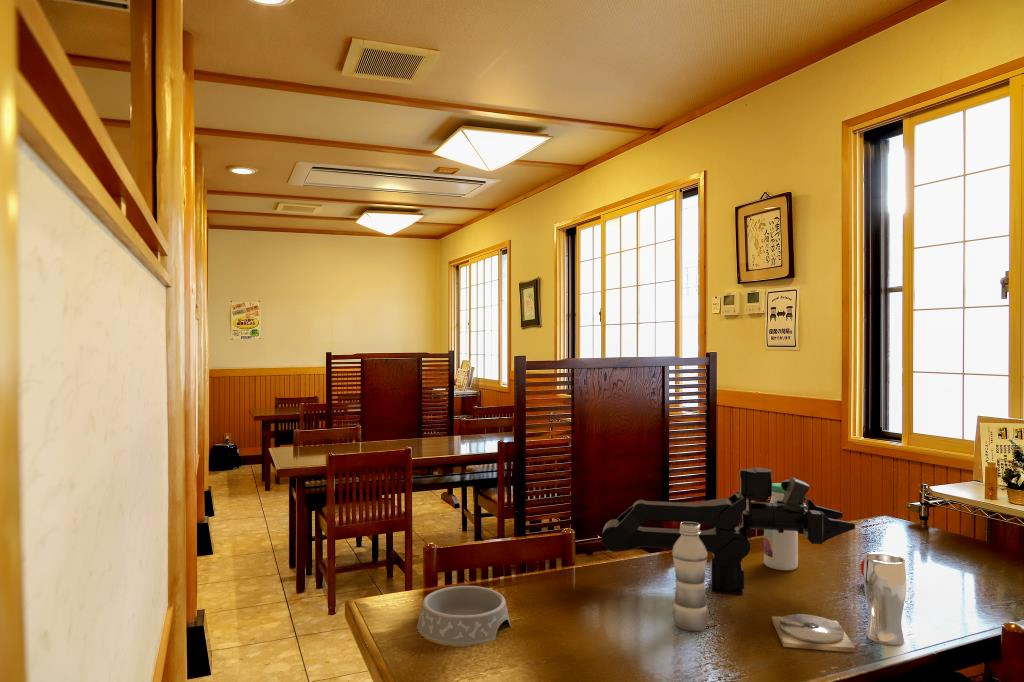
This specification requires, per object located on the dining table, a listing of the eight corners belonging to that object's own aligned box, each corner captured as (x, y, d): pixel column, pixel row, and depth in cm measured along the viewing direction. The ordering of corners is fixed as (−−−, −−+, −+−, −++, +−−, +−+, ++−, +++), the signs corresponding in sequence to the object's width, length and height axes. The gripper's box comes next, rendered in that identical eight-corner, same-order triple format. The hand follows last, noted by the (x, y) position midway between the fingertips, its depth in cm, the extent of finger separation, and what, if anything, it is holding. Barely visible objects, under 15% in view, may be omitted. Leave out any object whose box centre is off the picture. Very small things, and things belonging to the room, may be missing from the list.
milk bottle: (800, 564, 169) (800, 483, 169) (794, 573, 163) (794, 489, 163) (767, 559, 173) (767, 480, 173) (760, 567, 167) (760, 485, 167)
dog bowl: (523, 617, 138) (523, 590, 138) (482, 655, 121) (482, 624, 121) (448, 604, 145) (448, 578, 145) (400, 638, 128) (400, 609, 128)
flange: (786, 641, 124) (786, 635, 124) (774, 617, 134) (774, 611, 134) (851, 646, 122) (851, 640, 122) (834, 621, 132) (834, 616, 132)
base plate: (783, 646, 123) (783, 642, 123) (771, 620, 135) (771, 616, 135) (855, 652, 121) (855, 647, 121) (837, 625, 133) (837, 620, 133)
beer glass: (912, 648, 122) (912, 564, 122) (870, 645, 124) (870, 562, 124) (898, 632, 129) (898, 553, 129) (859, 629, 131) (858, 551, 131)
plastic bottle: (703, 638, 127) (702, 530, 127) (667, 630, 130) (667, 525, 130) (712, 626, 132) (712, 522, 132) (678, 618, 136) (678, 518, 136)
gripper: (779, 488, 141) (861, 492, 138) (765, 471, 159) (836, 474, 156) (779, 542, 141) (861, 547, 138) (764, 519, 159) (836, 523, 156)
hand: (848, 520), depth 147 cm, fingers open, 9 cm apart
